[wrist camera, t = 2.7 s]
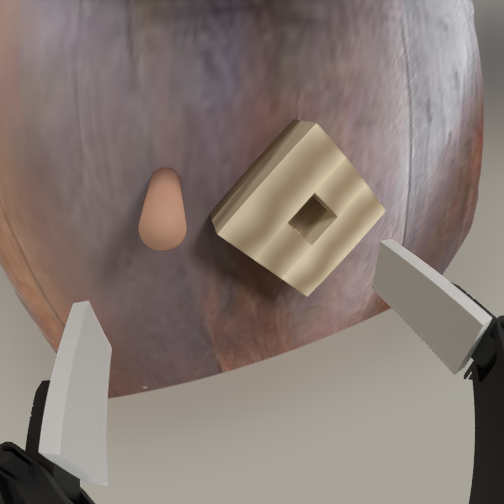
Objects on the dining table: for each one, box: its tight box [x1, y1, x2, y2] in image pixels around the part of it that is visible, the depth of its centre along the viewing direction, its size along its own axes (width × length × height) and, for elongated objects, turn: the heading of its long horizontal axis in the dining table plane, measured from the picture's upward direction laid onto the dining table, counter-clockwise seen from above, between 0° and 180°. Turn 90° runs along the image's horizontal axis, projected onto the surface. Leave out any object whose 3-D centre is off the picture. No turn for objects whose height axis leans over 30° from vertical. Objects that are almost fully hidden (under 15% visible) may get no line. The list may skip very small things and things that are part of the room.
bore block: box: [210, 120, 385, 296], centre depth 35 cm, size 16×16×6 cm
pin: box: [139, 168, 187, 251], centre depth 26 cm, size 4×4×14 cm
